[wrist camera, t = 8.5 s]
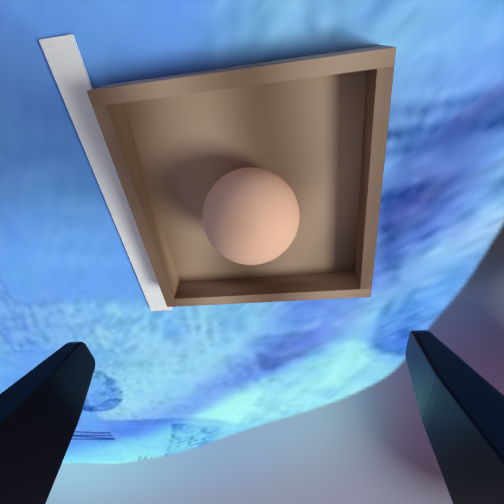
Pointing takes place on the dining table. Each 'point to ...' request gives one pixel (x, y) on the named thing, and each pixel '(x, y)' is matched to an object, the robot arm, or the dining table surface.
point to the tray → (259, 156)
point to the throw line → (100, 156)
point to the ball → (250, 216)
